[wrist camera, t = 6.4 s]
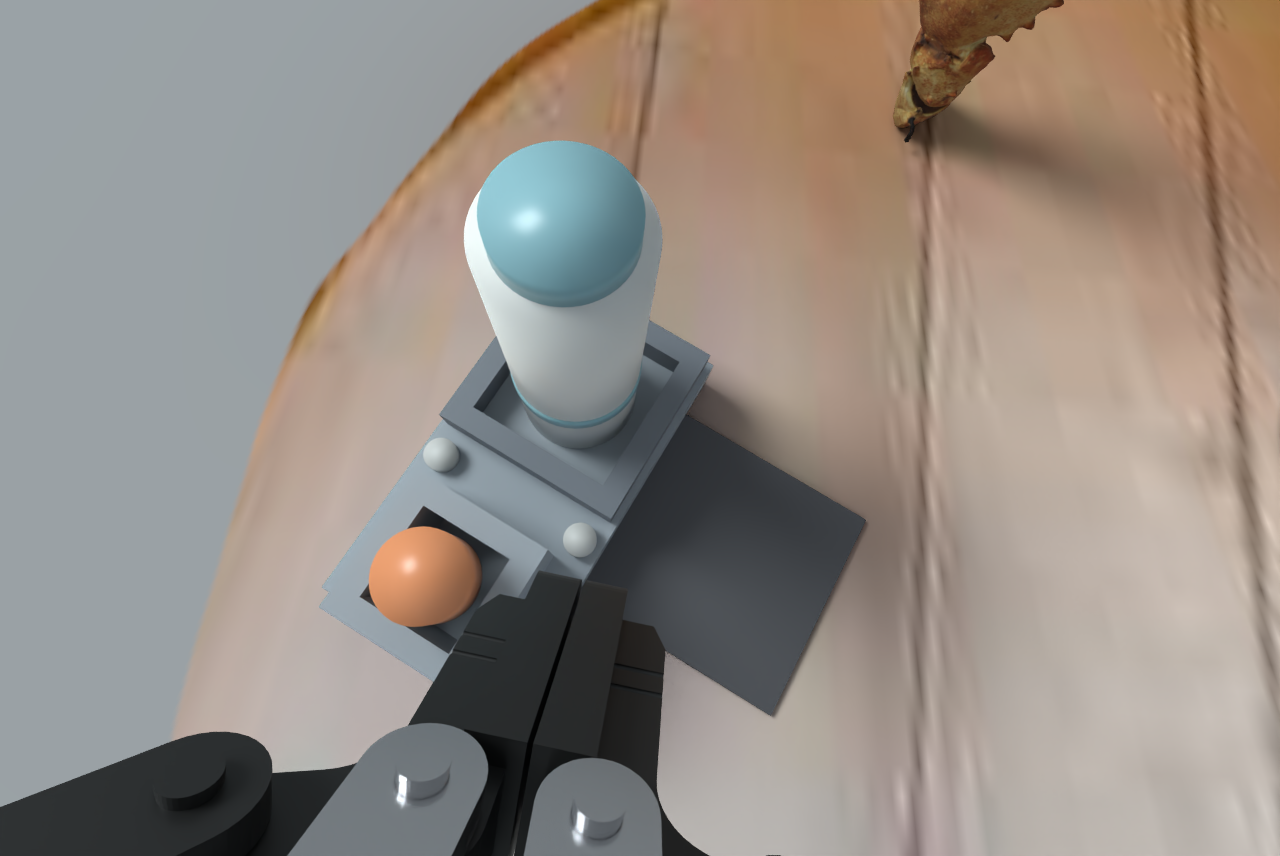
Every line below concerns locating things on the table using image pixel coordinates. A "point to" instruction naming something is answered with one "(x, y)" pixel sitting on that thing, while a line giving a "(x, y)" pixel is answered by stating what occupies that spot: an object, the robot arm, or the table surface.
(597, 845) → the robot arm
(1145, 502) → the table surface
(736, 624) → the pad
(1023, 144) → the table surface
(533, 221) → the cartridge
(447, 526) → the housing
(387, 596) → the plunger
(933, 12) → the crab claw
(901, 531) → the table surface
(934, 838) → the table surface
